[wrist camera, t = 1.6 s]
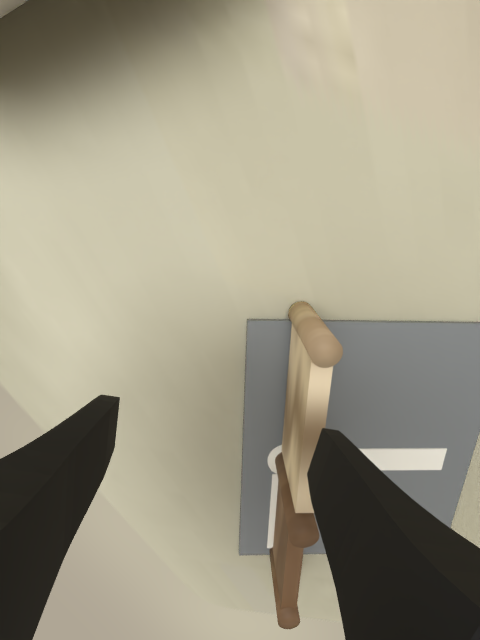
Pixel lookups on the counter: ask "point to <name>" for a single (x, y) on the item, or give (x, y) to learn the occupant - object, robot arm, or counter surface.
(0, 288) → the counter surface
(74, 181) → the counter surface
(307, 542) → the fence post and rail
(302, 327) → the fence panel
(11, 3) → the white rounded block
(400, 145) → the counter surface
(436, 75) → the counter surface
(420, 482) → the mat
